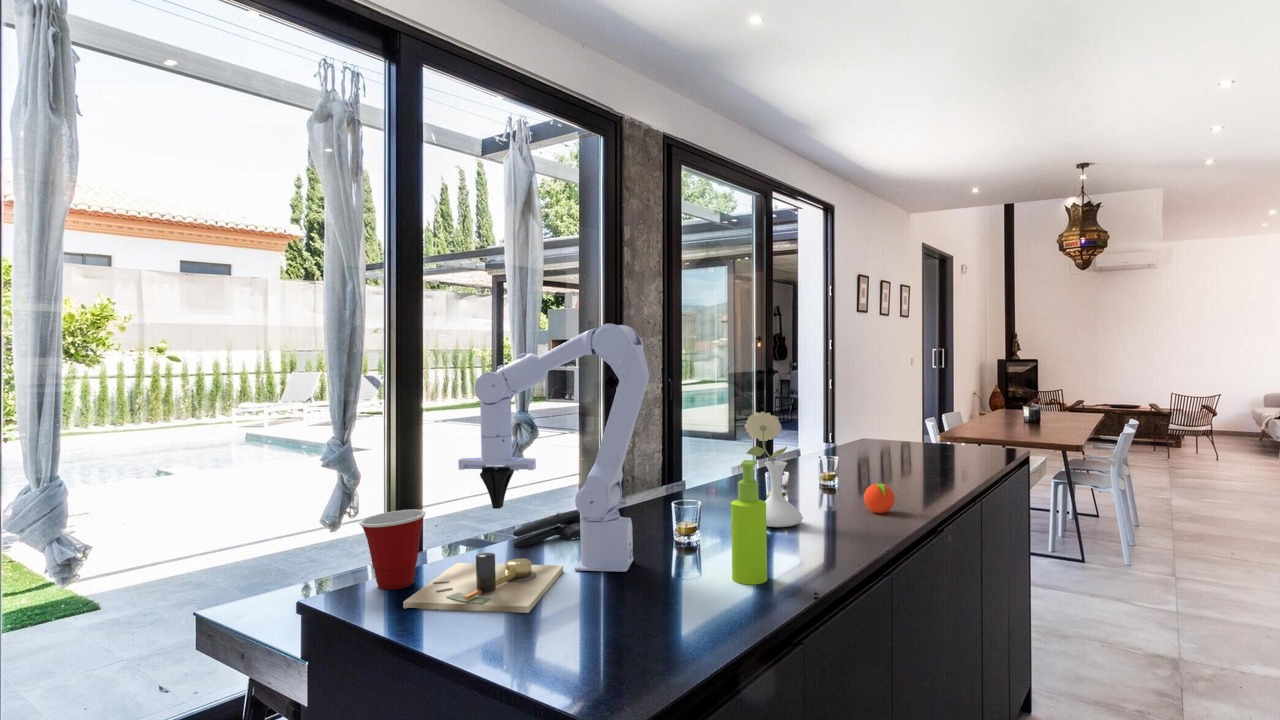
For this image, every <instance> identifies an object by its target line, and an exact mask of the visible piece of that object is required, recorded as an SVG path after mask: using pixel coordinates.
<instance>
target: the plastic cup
mask: <svg viewBox="0 0 1280 720" xmlns="http://www.w3.org/2000/svg"><path fill="white" fill-rule="evenodd" d="M425 515H426V511H425V510H423V509H401V510H395V511H387V512H384V513H378V514H374V515H371V516H367V517H365V518H362V519H361V520H359V522H358V524H359V525H360V526H361V527H362V529H363V532H364V534H365V538H366V540H367V544H368V545H367V546H368V549H369V554H370V558H371V559H370V560H371V562H372V568H373V569H374V576H375V580H376V583H377V588H379V589H381V590H386V589H387V590H390V591H391V590H399V589H404V588H408V587H411V586H412V585H413V583H414V580H415V575H416V566H417V563H418V558H419V557H418V556H419V548H420V540H421V534H422V528H423V521H424V518H425Z"/></svg>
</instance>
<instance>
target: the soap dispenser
mask: <svg viewBox="0 0 1280 720" xmlns="http://www.w3.org/2000/svg"><path fill="white" fill-rule="evenodd" d="M755 465H758V461H757V460H755V459H744V460H743V461H742V462H741V463H740V468H742V478H741V480H738V482H737V486H738V487H737V489H738V490H737V491H738V493H737V494H738V497H737V498H738V499H734V500H732V501H731V502H730V506H731V507H730V514H731V515H730V516H731V517H730V518H731V519H730V520H731V521H730V522H731V523H730V525H731V529H730V530H731V575H732V576H731V578H732V581H733V582H735V583H738V584H742V585H751V586H752V585H753V586H754V585H760V584H764V583H766V582H767V581H768V557H767V556H768V549H767V548H768V547H767V545H768V544H767V542H768V541H767V540H768V539H767V538H768V537H767V531H768V530H767V526H766V502H765V501H766V500H762V499H760V498H759V481H757V480H756V479H754V466H755Z"/></svg>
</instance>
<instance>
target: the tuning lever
mask: <svg viewBox="0 0 1280 720" xmlns="http://www.w3.org/2000/svg"><path fill="white" fill-rule="evenodd" d="M475 563H476V589H477V590H476V591H474V592H472V593H470V594H468V595H466V596H464V599H465V600H468V599H470V598H472V597H474V596H476V595H478V594H480V593H488V592H492V591H495V590H496V586H498V585H500V584H502V583H504V582H506V581H508V580H510V579H512V578H521V577H526V576H529V575H531V573H532V570H531V565H532V560H531V559H528V558H523V557H522V558H520V557H519V558H513V559H512V558H511V559H509V560H506V561H505V563H504V564H505V571H503V572H501V573H498V574H496V575H495V564H496V554H495V553H493V552H483V553H482V552H481V553H477V554H476V555H475Z"/></svg>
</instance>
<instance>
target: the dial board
mask: <svg viewBox="0 0 1280 720" xmlns="http://www.w3.org/2000/svg"><path fill="white" fill-rule="evenodd" d="M531 570H532V573H531V575H529V576H526V577H521V578H512V579H510V580H508V581H506V582H504V583H502V584H500V585H498V586H496V590H495V591H492V592H488V593H480V594H478V595H476V596H474V597H472V598H470V599H468V600H465V599H464V596H466V595H468V594H470V593H472V592H474V591H476V590H477V589H476V562H474V563H473V562H472V563H471V562H469V563H468V562H455V563H454V564H452V565H451V566H450V567H448V568H447V569H446V570H445V571H443V572H442V573H441V574H439V575H438V576H436V577H435V578H433V579H432V580H431V581H430V582H428V583H427V584H426V585H424V586H422V587H421V588H420V589H419V590H417V591H416V592H415V593H413V594H412V595H410V596H409V597H407V598H406V599H405V600H404V601H403V603H402V604H403V605H402V607H403V608H402V609H407V608H417V609H416V610H435V609H438V611H442V610H443V611H464V612H465V611H466V612H467V611H468V612H490V613H491V612H494V613H495V612H496V613H519V614H520V613H522V614H523V613H525V614H529V613H530V612H531V610H533V608H534V607H535V606H536V605H537V604H538V602H539V601H540V600H541V599H542V598H543V596H544V595H545V594H546V593H547V591H549V589H550V588H551V587H552V585H553V584H554V583H555V582H556V580H557V579H558V578H559V577H560V576H561V575H562V574H563V572H564V565H557V564H556V565H553V564H552V565H551V564H550V565H549V564H531ZM503 571H505V563H495V575H496V574H498V573H501V572H503ZM418 608H419V609H418Z"/></svg>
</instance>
